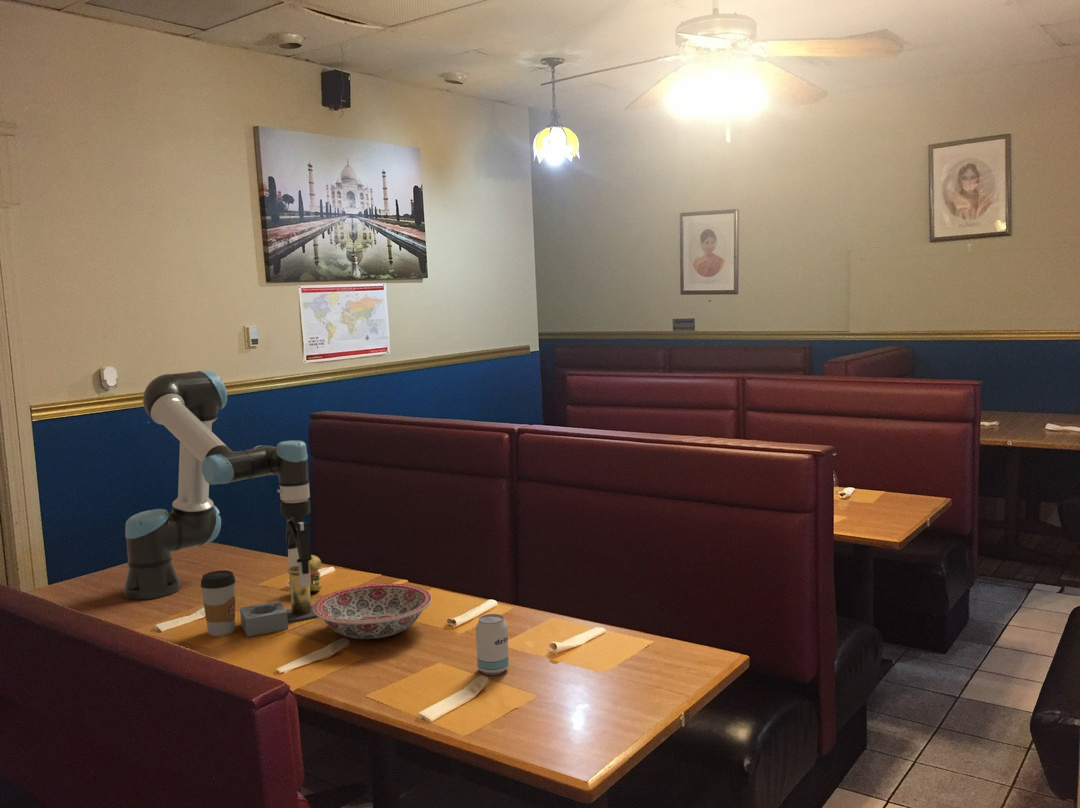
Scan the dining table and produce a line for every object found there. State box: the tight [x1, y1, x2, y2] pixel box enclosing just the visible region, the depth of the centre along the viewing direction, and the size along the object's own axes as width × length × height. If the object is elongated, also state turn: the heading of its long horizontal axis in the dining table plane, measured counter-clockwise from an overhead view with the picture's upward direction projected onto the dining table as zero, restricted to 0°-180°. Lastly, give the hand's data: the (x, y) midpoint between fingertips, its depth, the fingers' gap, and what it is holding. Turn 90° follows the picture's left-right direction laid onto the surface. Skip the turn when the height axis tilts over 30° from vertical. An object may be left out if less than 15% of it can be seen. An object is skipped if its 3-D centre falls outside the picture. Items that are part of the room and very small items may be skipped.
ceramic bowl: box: [313, 583, 433, 640], centre depth 222 cm, size 29×29×8 cm
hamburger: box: [310, 554, 322, 592], centre depth 255 cm, size 8×7×12 cm
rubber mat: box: [285, 604, 319, 624], centre depth 236 cm, size 9×9×1 cm
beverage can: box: [475, 613, 510, 676], centre depth 196 cm, size 7×7×12 cm
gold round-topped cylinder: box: [287, 566, 312, 615], centre depth 236 cm, size 6×6×12 cm
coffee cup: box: [200, 569, 237, 637], centre depth 225 cm, size 8×8×15 cm
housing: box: [239, 600, 289, 637], centre depth 228 cm, size 10×10×4 cm
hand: (299, 578), depth 235 cm, fingers open, 13 cm apart
